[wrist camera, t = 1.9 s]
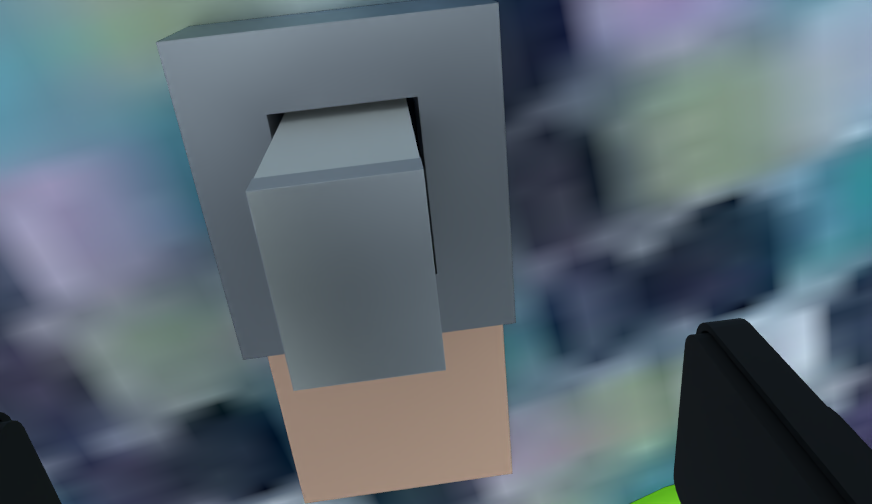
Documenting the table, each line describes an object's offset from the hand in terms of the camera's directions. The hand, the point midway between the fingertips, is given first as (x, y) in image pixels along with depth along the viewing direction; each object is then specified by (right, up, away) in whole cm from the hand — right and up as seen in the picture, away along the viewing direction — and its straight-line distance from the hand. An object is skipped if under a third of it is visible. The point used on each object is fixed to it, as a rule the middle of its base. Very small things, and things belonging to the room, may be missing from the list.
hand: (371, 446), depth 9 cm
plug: (-2, +6, +13) cm, 15 cm away
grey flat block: (-2, +6, +13) cm, 14 cm away
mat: (-1, -4, +18) cm, 18 cm away
